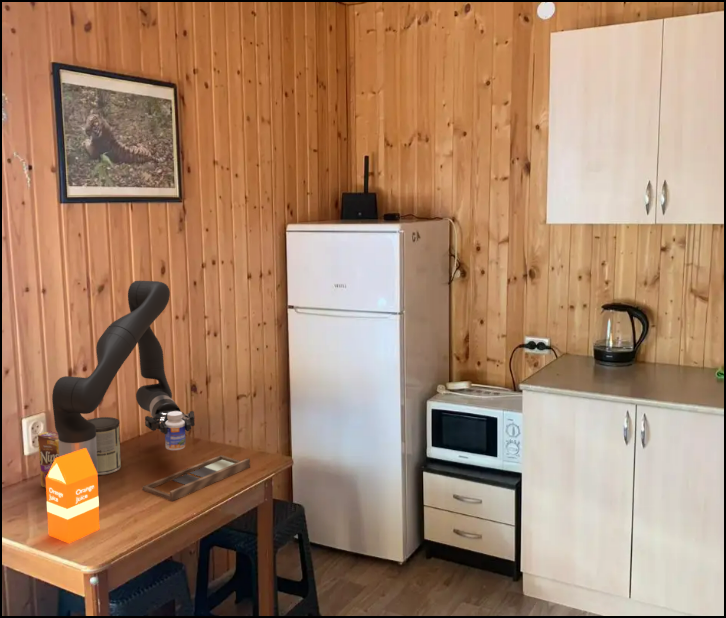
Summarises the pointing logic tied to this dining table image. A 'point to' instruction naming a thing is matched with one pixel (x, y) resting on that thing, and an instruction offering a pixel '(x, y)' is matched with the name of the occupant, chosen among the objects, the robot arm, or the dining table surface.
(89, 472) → the orange juice
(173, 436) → the pill bottle
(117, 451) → the coffee can
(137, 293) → the robot arm
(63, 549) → the dining table surface
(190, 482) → the tray
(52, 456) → the candy box
